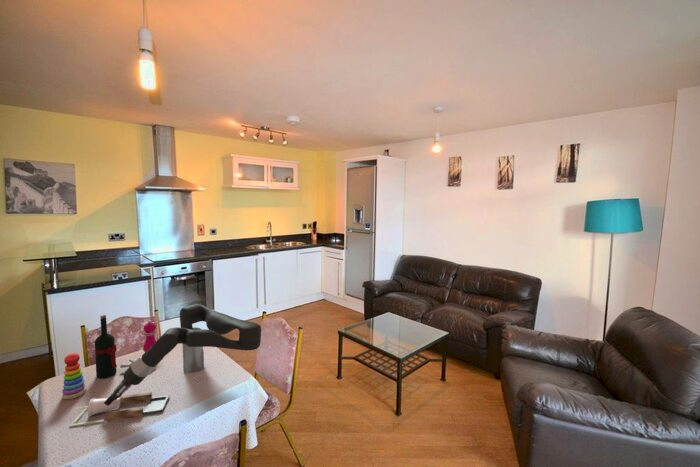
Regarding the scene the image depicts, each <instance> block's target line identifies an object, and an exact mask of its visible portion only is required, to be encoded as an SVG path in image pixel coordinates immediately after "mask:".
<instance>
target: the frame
mask: <svg viewBox="0 0 700 467" xmlns="http://www.w3.org/2000/svg"><path fill="white" fill-rule="evenodd" d="M86 412H88V408H83V409H82V410H81V412H80V413H79V414H78V416H76V417H75V419H74V420H73V421H72V422H71V423H70V424H69V426H68V427H69V428H73V427H74V428H75V427H81V426H87V425H96V424H101V423H104V422H105V421H106V418H105V419H103V418H102V419H97V420H90V421H82V422H78V421H79V420H80V419H81V418H82V416H83V415H85V413H86Z"/></svg>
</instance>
